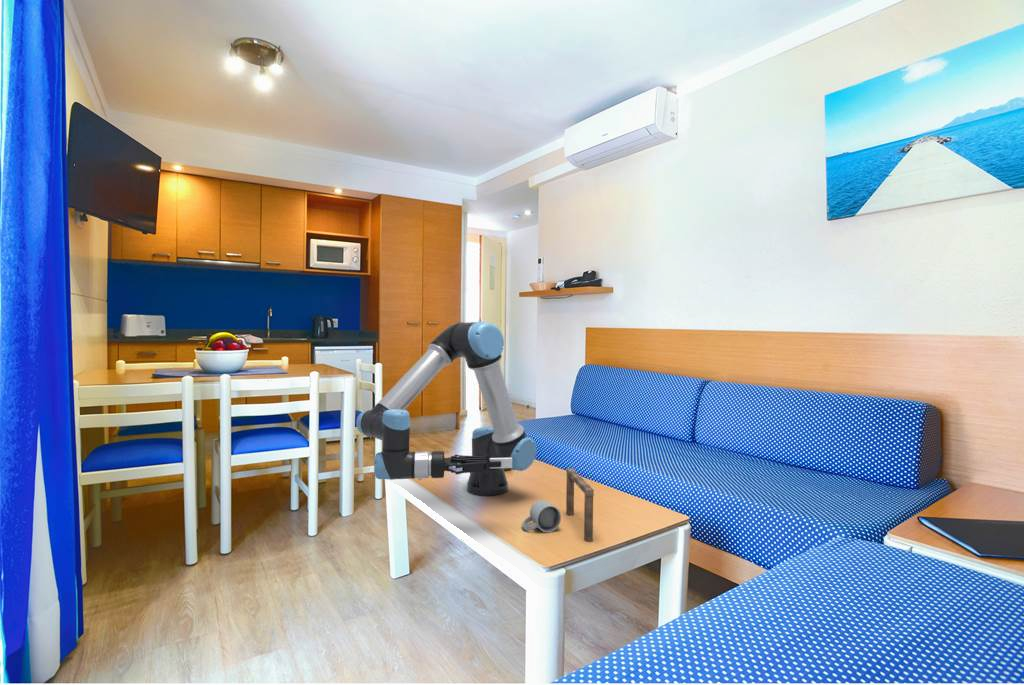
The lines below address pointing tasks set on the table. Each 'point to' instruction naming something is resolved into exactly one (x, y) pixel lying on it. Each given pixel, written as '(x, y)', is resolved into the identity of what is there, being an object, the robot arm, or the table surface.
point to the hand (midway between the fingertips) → (511, 462)
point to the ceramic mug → (543, 517)
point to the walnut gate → (588, 504)
